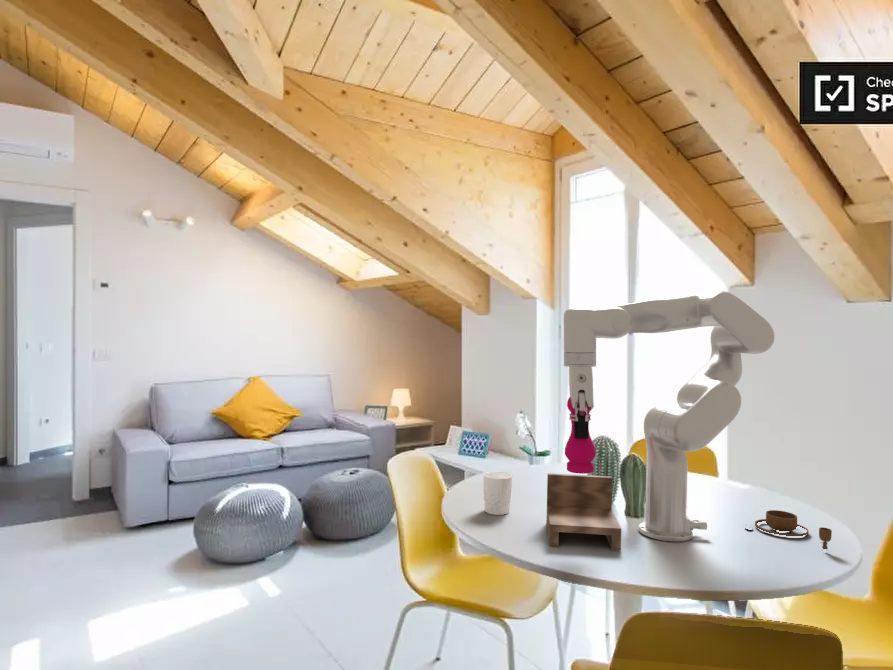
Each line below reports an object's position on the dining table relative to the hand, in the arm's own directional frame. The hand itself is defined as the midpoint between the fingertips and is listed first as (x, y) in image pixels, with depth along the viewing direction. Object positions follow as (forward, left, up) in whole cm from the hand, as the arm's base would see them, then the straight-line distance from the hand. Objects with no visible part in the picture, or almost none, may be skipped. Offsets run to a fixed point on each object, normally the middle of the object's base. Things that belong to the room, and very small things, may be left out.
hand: (580, 435), depth 141 cm
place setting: (-51, -12, -26) cm, 59 cm away
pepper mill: (0, 0, -9) cm, 9 cm away
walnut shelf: (-1, -2, -25) cm, 25 cm away
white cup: (+20, -18, -25) cm, 37 cm away
